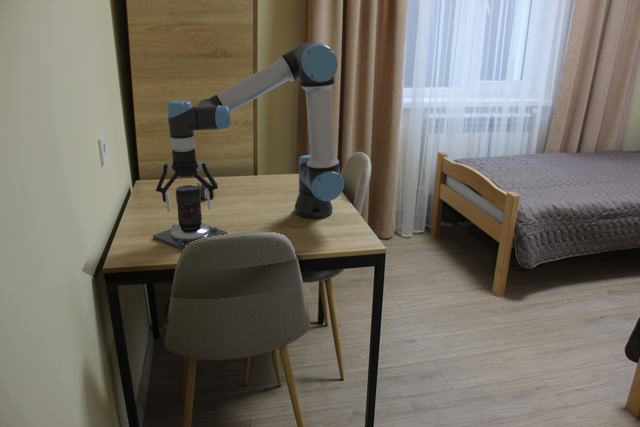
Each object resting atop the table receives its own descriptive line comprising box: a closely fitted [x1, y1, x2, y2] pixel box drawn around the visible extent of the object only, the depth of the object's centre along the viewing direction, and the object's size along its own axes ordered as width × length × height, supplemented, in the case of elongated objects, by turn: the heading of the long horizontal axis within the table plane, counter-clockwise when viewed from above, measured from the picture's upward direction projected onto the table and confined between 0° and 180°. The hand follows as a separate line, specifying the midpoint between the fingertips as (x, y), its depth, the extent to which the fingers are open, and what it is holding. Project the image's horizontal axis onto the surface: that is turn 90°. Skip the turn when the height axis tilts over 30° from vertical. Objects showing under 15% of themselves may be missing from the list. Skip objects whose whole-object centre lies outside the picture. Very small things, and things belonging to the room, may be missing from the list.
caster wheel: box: [196, 181, 215, 199], centre depth 220 cm, size 7×11×10 cm
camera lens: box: [175, 184, 203, 233], centre depth 176 cm, size 8×8×15 cm
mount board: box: [152, 222, 228, 251], centre depth 179 cm, size 18×18×3 cm
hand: (189, 209), depth 176 cm, fingers open, 13 cm apart
